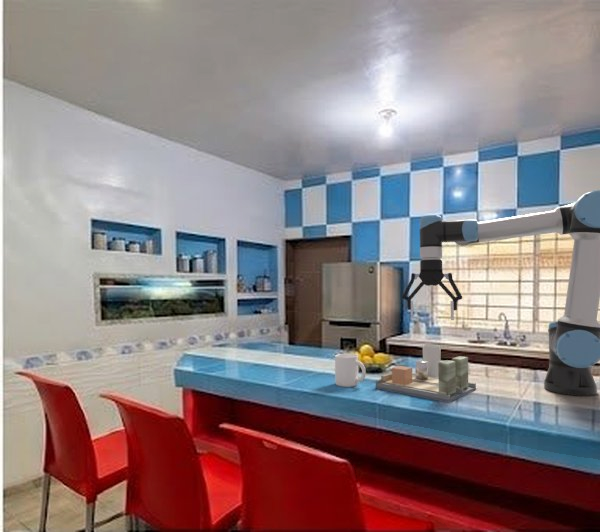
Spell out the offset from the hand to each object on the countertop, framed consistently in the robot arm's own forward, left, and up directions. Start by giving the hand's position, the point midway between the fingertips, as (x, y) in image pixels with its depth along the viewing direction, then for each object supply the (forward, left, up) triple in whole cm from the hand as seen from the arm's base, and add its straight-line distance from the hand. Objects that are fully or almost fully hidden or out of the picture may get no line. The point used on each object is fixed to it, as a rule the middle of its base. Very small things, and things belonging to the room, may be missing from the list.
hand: (431, 319), depth 151 cm
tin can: (+4, -1, -21) cm, 22 cm away
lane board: (0, +5, -23) cm, 24 cm away
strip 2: (+1, -1, -22) cm, 22 cm away
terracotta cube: (+6, +10, -21) cm, 24 cm away
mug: (+22, +18, -24) cm, 37 cm away
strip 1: (+1, +10, -22) cm, 24 cm away
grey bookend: (+7, -16, -24) cm, 30 cm away
